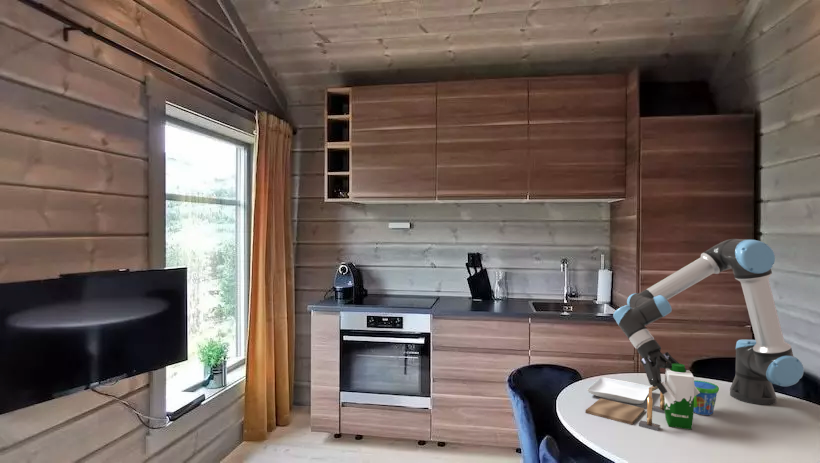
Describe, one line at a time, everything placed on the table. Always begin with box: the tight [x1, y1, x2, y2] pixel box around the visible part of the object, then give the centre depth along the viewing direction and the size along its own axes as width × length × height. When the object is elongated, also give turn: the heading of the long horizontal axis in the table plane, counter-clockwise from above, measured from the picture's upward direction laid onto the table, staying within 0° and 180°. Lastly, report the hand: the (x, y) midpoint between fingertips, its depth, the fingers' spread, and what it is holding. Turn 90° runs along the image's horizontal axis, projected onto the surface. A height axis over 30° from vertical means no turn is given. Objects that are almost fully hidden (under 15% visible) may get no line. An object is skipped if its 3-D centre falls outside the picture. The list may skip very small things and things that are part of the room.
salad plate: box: [586, 376, 652, 405], centre depth 198 cm, size 21×21×3 cm
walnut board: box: [584, 397, 646, 426], centre depth 180 cm, size 16×16×1 cm
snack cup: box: [694, 379, 720, 416], centre depth 181 cm, size 16×10×10 cm
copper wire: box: [638, 385, 665, 432], centre depth 174 cm, size 6×21×10 cm, turn 140°
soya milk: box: [664, 362, 695, 430], centre depth 169 cm, size 9×9×20 cm
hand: (685, 398), depth 167 cm, fingers open, 13 cm apart
